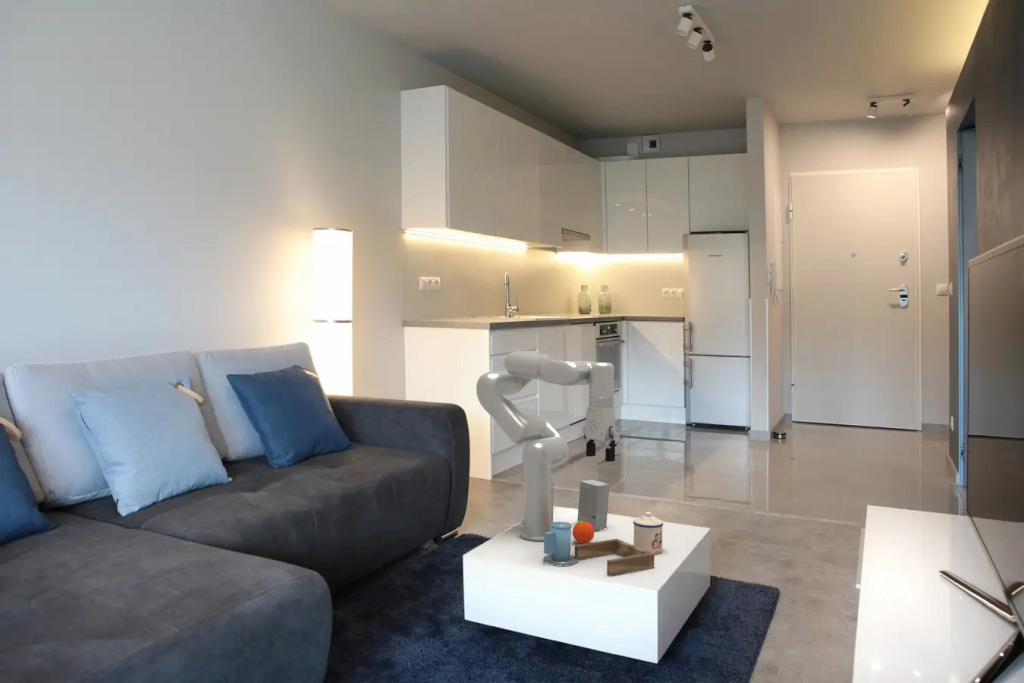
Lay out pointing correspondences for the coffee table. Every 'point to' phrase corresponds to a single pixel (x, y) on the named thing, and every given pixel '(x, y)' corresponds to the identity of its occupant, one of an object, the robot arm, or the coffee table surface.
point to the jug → (558, 541)
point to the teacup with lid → (648, 533)
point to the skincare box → (593, 503)
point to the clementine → (583, 532)
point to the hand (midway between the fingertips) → (600, 458)
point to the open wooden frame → (630, 554)
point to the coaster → (572, 561)
